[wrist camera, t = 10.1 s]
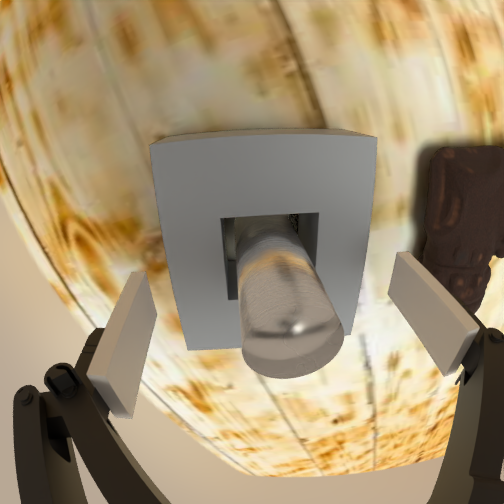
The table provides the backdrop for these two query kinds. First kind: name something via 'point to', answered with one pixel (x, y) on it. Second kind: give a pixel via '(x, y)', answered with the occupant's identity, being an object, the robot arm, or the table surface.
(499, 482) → the robot arm
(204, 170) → the socket block
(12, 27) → the table surface
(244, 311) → the cylinder
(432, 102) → the table surface
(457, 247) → the pipe
